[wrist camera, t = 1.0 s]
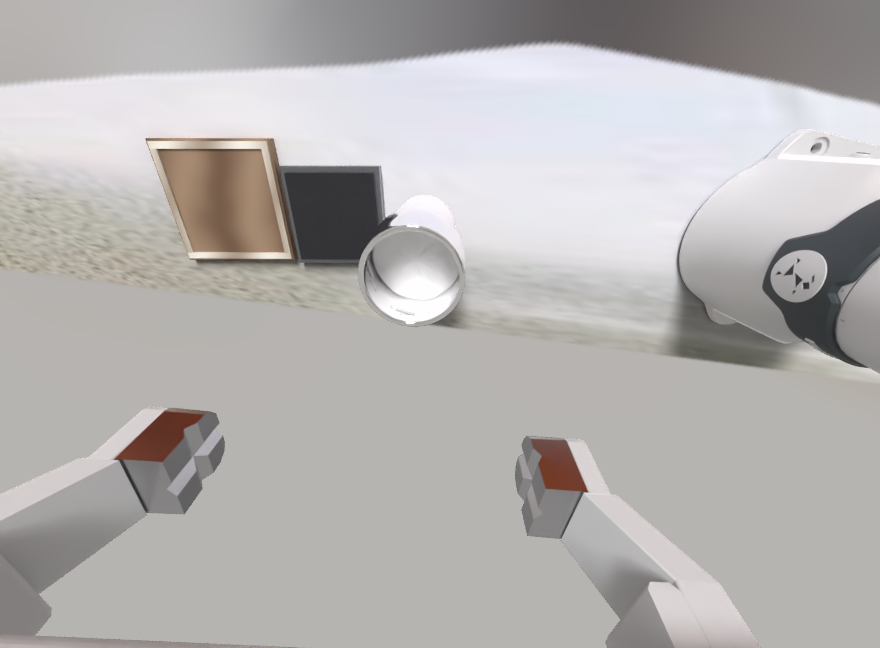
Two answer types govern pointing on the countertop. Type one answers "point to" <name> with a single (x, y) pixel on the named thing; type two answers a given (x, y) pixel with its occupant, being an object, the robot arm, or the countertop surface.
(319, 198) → the ink pad
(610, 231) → the countertop surface
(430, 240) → the beer glass
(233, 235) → the board
